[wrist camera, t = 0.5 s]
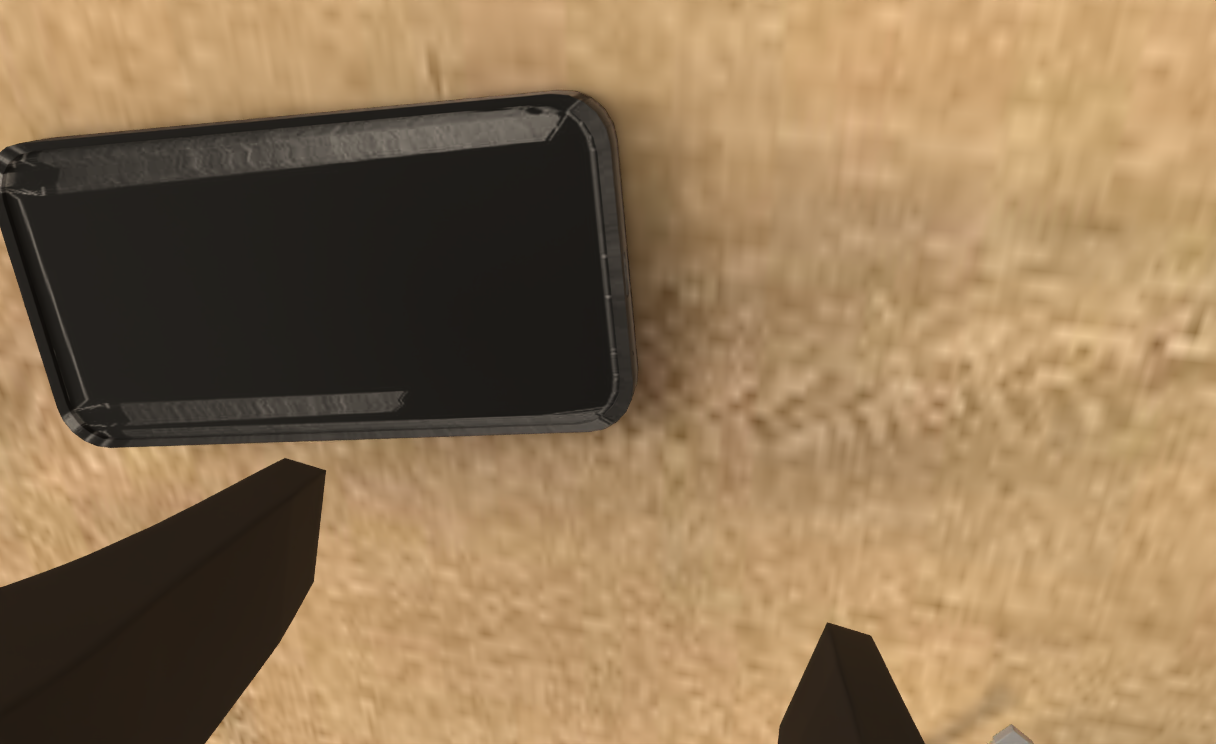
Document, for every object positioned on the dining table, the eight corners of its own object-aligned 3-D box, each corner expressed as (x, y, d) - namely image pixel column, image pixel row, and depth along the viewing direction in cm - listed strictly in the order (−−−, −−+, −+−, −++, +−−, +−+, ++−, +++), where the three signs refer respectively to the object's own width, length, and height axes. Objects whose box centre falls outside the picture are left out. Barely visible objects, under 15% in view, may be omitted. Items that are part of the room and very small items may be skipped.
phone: (-25, 147, 22) (604, 88, 20) (9, 141, 23) (612, 85, 21) (71, 452, 25) (637, 435, 22) (98, 435, 26) (642, 416, 23)
